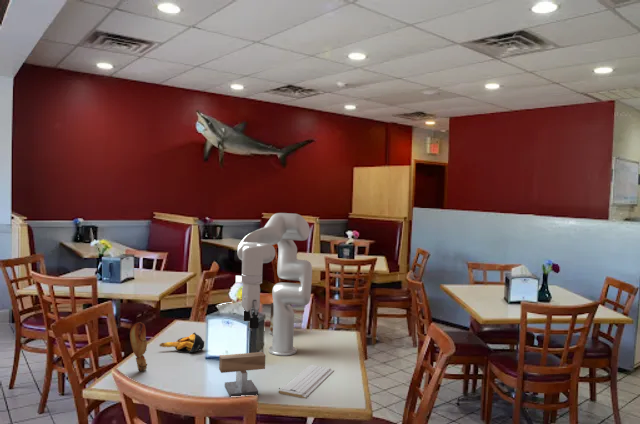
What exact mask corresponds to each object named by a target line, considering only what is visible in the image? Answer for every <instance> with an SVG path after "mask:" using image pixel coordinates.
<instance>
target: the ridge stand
mask: <svg viewBox="0 0 640 424" xmlns="http://www.w3.org/2000/svg"><path fill="white" fill-rule="evenodd" d="M224 388H225V390H226V392H227V394H228V396H229V397H230V396H241V395H254V396H259V393H260V392H259V389H258V388H257V387H256V385H255V383H254V382H253V380H252V379H248V371H236V374H235V380H234V381H229V382H228V381H227V382H224ZM256 394H257V395H256Z"/></svg>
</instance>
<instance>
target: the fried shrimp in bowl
mask: <svg viewBox="0 0 640 424" xmlns="http://www.w3.org/2000/svg"><path fill="white" fill-rule="evenodd" d="M159 347H160V348H161V347H162V348H172V347H173V348H175V350H176V351H177V352H178V353H182V354H184V353H189V354H190V353H197V352H198V351H202V350H203V349H204V347H205V341H204V340H203V338H202V336H201V335H199V334H197V333H196V332H193V333H191V334H190V335H189V336H184V337H180V338H178V339H177V340H176V341H169V342H168V341H166V342H161V343H159Z"/></svg>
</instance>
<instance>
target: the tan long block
mask: <svg viewBox="0 0 640 424" xmlns="http://www.w3.org/2000/svg"><path fill="white" fill-rule="evenodd" d="M265 369H266V354H265V353H264V352H263V351H259V352H245V353H234V354H233V353H232V354H219V366H218V370H219V372H220V373H221V374H224V373H233V372H236V371H246V372H248V371H255V370H256V371H257V370H265Z"/></svg>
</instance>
